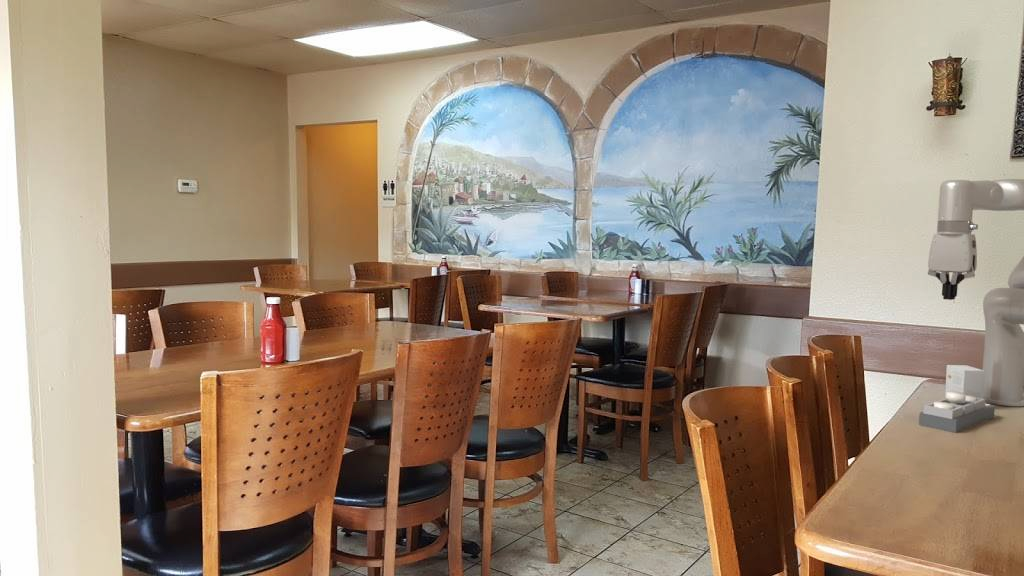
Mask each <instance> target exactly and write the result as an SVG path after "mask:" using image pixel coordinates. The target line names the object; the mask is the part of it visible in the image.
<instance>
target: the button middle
mask: <svg viewBox="0 0 1024 576" xmlns="http://www.w3.org/2000/svg"><path fill="white" fill-rule="evenodd" d="M965 400H966V394H964V393H961V392H952V391H949V392H947V393H946V401H948V402H952V403H965Z"/></svg>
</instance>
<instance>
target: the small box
mask: <svg viewBox="0 0 1024 576" xmlns="http://www.w3.org/2000/svg"><path fill="white" fill-rule="evenodd" d="M945 371H946V374H945V387H944V388H945V389H944V390H945V392H944V399H945V398H946V393H947V392H949V391H952V392H961V393H964V394H966V395H972V396H975V397H977V398H981V399H983V398H984V381H985V371H984V370H983V369H981V368H977V367H973V366H970V365H966V364H965V365H963V364H962V365H961V364H947V365H946V370H945Z"/></svg>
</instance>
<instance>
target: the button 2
mask: <svg viewBox="0 0 1024 576" xmlns="http://www.w3.org/2000/svg"><path fill="white" fill-rule="evenodd" d="M976 398H977V397H975V396H972V395H966V400H967V401H972V402H975V401H976Z"/></svg>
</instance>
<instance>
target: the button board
mask: <svg viewBox="0 0 1024 576" xmlns="http://www.w3.org/2000/svg"><path fill="white" fill-rule="evenodd" d="M985 401H986V399H981V398H976V401H975V402H972V401H967V400H965V403H952V402H948V401H946V398H945V397H944V398H942V399H939V400H936V401H933V402H930V403H927V404H923V410H922V411H920V412H919V418H918V425H919V426H922V427H927V428H933V429H937V430H941V431H942V430H943V431H947V432H951V433H955V434H956V433H958V432H961V431H963V430H967V429H968V428H971V427H973V426H976V425H979V424H981V423H984V422H986V421H989V420H991V419H994V418H995V412H996V411H995V409H996V406H995V405H994V404H991V403H986V402H985ZM934 402H947V403H951V404H953V405H954V407H953V409H952V410H949V409H944V408H939V407H934Z"/></svg>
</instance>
